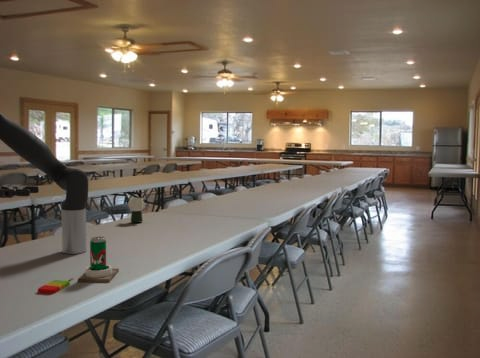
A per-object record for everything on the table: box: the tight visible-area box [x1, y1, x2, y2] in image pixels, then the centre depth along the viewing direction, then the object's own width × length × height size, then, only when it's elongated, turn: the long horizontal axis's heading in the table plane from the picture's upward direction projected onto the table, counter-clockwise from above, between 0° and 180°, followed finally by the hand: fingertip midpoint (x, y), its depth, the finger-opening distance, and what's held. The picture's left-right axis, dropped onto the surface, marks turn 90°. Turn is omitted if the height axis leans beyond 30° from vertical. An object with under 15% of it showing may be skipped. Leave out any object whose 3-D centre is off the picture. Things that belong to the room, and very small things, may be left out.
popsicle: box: [37, 277, 74, 295], centre depth 144 cm, size 6×15×2 cm, turn 168°
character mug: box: [127, 197, 146, 223], centre depth 250 cm, size 11×7×13 cm, turn 66°
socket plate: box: [77, 263, 119, 283], centre depth 154 cm, size 12×10×3 cm
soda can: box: [89, 236, 107, 270], centre depth 154 cm, size 5×5×12 cm
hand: (34, 191), depth 153 cm, fingers open, 8 cm apart
